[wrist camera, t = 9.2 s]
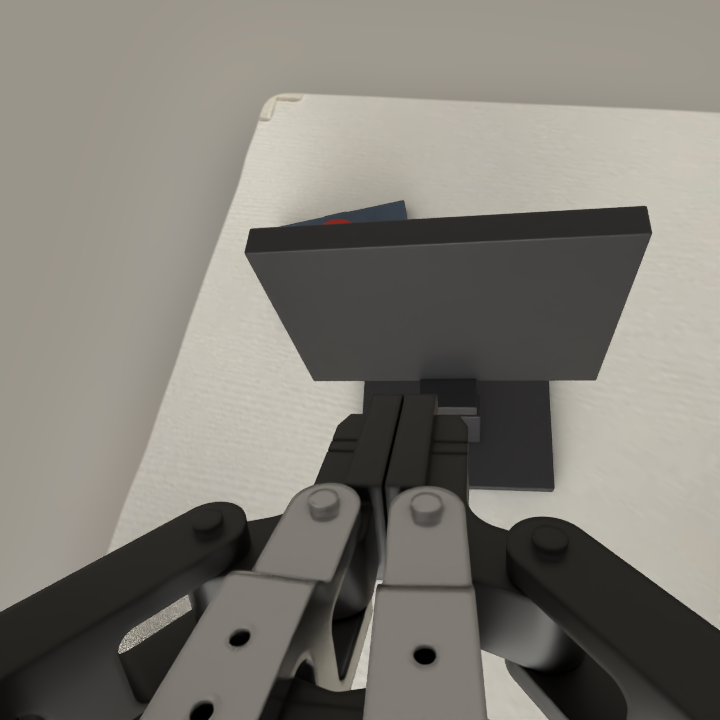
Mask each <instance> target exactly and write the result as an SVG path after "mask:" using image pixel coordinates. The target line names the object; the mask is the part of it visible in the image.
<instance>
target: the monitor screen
mask: <svg viewBox="0 0 720 720" xmlns="http://www.w3.org/2000/svg"><path fill="white" fill-rule="evenodd" d="M651 235H652V230H651V225H650V220H649V215H648V210H647V207H646V206H635V207H618V208H601V209H583V210H566V211H548V212H531V213H514V214H496V215H479V216H462V217H444V218H427V219H409V220H392V221H375V222H357V223H340V224H323V225H305V226H288V227H270V228H253V229H250V231H249V236H248V240H247V244H246V248H245V255H246V257H247V259H248V261H249V262H250V264H251V266H252V268H253V270H254V272H255V274H256V275H257V277H258V279H259V281H260V283H261V285H262V286H263V288H264V290H265V292H266V294H267V296H268V297H269V299H270V301H271V303H272V305H273V307H274V308H275V310H276V312H277V314H278V316H279V318H280V319H281V321H282V323H283V325H284V327H285V329H286V331H287V332H288V334H289V336H290V338H291V340H292V342H293V343H294V345H295V347H296V349H297V351H298V353H299V354H300V356H301V358H302V360H303V362H304V364H305V365H306V367H307V369H308V371H309V373H310V375H311V376H312V378H313V380H314V381H420V389H419V394H437V400H438V415H477V381H531V380H596V379H597V376H598V373H599V371H600V368H601V366H602V363H603V360H604V358H605V355H606V353H607V350H608V347H609V345H610V342H611V339H612V337H613V334H614V332H615V329H616V326H617V324H618V321H619V319H620V316H621V313H622V311H623V308H624V305H625V303H626V300H627V298H628V295H629V292H630V290H631V287H632V285H633V282H634V279H635V277H636V274H637V271H638V269H639V266H640V264H641V261H642V258H643V256H644V253H645V251H646V248H647V245H648V243H649V240H650V237H651Z"/></svg>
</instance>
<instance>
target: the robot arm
mask: <svg viewBox="0 0 720 720" xmlns="http://www.w3.org/2000/svg"><path fill="white" fill-rule="evenodd" d="M376 580H383V583H382V584H378V585H377V589H376V596H375V605H374V615H373V625H372V635H371V645H370V655H369V665H368V675H367V685H366V688H363V689H356V690H351V686H352V683H353V679H354V676H355V672H356V669H357V665H358V662H359V658H360V655H361V652H362V648H363V645H364V641H365V638H366V634H367V631H368V627H369V624H370V620H371V617H372V612H373V606H372V596H373V592H374V587H375V582H376ZM187 594H188V596H189V600H190V603H191V606H192V610H190V611H189V612H187V613H186V614H184V615H183V616H181V617H179V618H178V619H176V620H175V621H173V622H172V623H170V624H169V625H167V626H166V627H164V628H162V629H161V630H159V631H158V632H156V633H155V634H153V635H152V636H150V637H149V638H147V639H145V640H144V641H142V642H141V643H139V644H138V645H136V646H135V647H133V648H132V649H130V650H128V651H126V652H124V653H121V654H118V649H119V645H120V643H121V641H122V639H123V638H124V636H125V635H126V634H127V633H128V632H129V631H130V630H131V629H133V628H134V627H136V626H137V625H139V624H141V623H142V622H144V621H145V620H147V619H149V618H150V617H152V616H153V615H155V614H157V613H158V612H160V611H161V610H163V609H164V608H166V607H168V606H169V605H171V604H172V603H174V602H176V601H177V600H179V599H180V598H182V597H184V596H185V595H187ZM481 649H482V650H484V651H487V652H489V653H492V654H494V655H497V656H499V657H502V658H504V659H505V664H506V667H507V669H508V671H509V673H510V675H511V676H512V677H513V679H514V680H515V681H516V682H517V683H518V685H519V686H520V687H521V688H522V689H523V690H524V691H525V693H526V694H527V695H528V696H529V697H530V698H531V699H532V701H533V702H534V703H535V704H536V705H537V706H538V708H539V709H540V710H541V711H542V712H543V713H544V714H545V716H546V717H547V718H548V719H549V720H720V630H718V629H717V628H716V627H714V626H713V625H712V624H710V623H709V622H707V621H706V620H705V619H703V618H702V617H701V616H699V615H698V614H696V613H695V612H694V611H692V610H691V609H690V608H688V607H687V606H686V605H684V604H683V603H681V602H680V601H679V600H677V599H676V598H675V597H673V596H672V595H670V594H669V593H668V592H666V591H665V590H664V589H662V588H661V587H660V586H658V585H657V584H655V583H654V582H653V581H651V580H650V579H649V578H647V577H646V576H645V575H643V574H642V573H640V572H639V571H638V570H636V569H635V568H634V567H632V566H631V565H629V564H628V563H627V562H625V561H624V560H623V559H621V558H620V557H619V556H617V555H616V554H614V553H613V552H612V551H610V550H609V549H608V548H606V547H605V546H603V545H602V544H601V543H599V542H598V541H597V540H595V539H594V538H593V537H591V536H590V535H588V534H587V533H586V532H584V531H583V530H582V529H580V528H579V527H577V526H575V525H574V524H572V523H570V522H567V521H564V520H562V519H557V518H553V517H532V518H528V519H525V520H522V521H520V522H518V523H516V524H515V525H514V526H513V527H512V528H511V529H510V530H509V531H508V530H505V529H501V528H498V527H495V526H492V525H490V524H488V523H486V522H484V521H483V520H481V519H479V518H478V517H477V516H476V515H475V514H474V513H473V512H472V511H471V509H470V508H469V450H468V426H467V425H466V424H465V422H464V421H463V420H462V418H461V417H460V416H459V415H438V400H437V394H406V395H405V396H404V394H373V395H372V398H371V401H370V404H369V407H368V410H367V413H366V414H351V415H349V416H348V417H347V418H346V419H345V420H344V421H342V422H341V423H340V424H339V425H338V426H337V429H336V431H335V434H334V436H333V441H331V444H330V446H329V449H328V452H327V454H326V456H325V459H324V461H323V464H322V466H321V469H320V471H319V474H318V476H317V479H316V481H315V483H314V485H313V486H310V487H308V488H305V489H303V490H302V491H300V492H299V493H297V494H296V495H295V496H294V497H293V498H292V500H291V501H290V503H289V505H288V506H287V508H286V510H285V512H284V514H282V515H279V516H274V517H270V518H264V519H259V520H254V521H248V522H247V519H246V515H245V512H244V510H243V509H242V508H241V507H239V506H238V505H236V504H233V503H229V502H212V503H207V504H204V505H201V506H198V507H196V508H194V509H192V510H190V511H188V512H186V513H184V514H182V515H180V516H178V517H177V518H175V519H173V520H171V521H169V522H167V523H165V524H164V525H162V526H160V527H158V528H156V529H154V530H152V531H151V532H149V533H147V534H145V535H143V536H141V537H139V538H137V539H136V540H134V541H132V542H130V543H128V544H126V545H124V546H123V547H121V548H119V549H117V550H115V551H113V552H111V553H110V554H108V555H106V556H104V557H102V558H100V559H98V560H96V561H95V562H93V563H91V564H89V565H87V566H85V567H84V568H82V569H80V570H78V571H76V572H74V573H72V574H70V575H69V576H67V577H65V578H63V579H61V580H59V581H57V582H56V583H54V584H52V585H50V586H48V587H46V588H44V589H42V590H41V591H39V592H37V593H35V594H33V595H31V596H30V597H28V598H26V599H24V600H22V601H20V602H18V603H16V604H14V605H13V606H11V607H9V608H7V609H5V610H4V611H2V612H0V720H489V719H487V710H486V699H485V689H484V679H483V668H482V658H481Z"/></svg>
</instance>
